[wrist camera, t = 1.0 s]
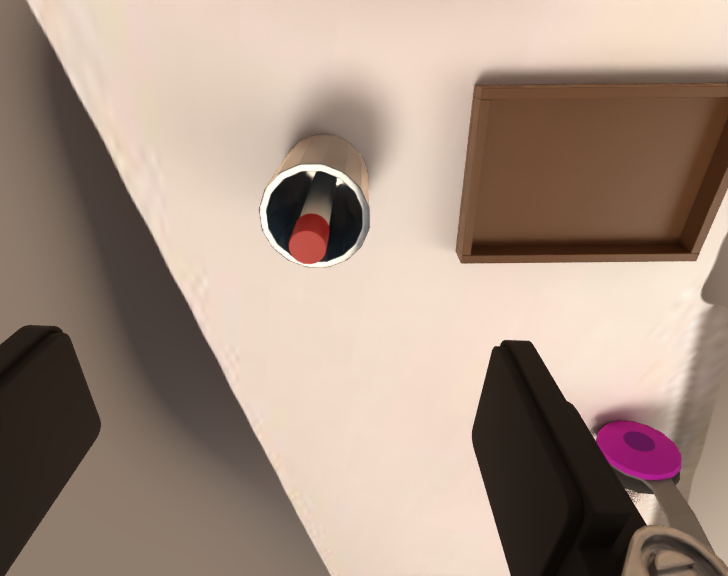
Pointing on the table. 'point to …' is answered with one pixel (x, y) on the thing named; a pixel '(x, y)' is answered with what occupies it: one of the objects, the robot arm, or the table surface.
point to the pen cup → (292, 190)
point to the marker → (314, 221)
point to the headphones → (650, 470)
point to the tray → (593, 172)
